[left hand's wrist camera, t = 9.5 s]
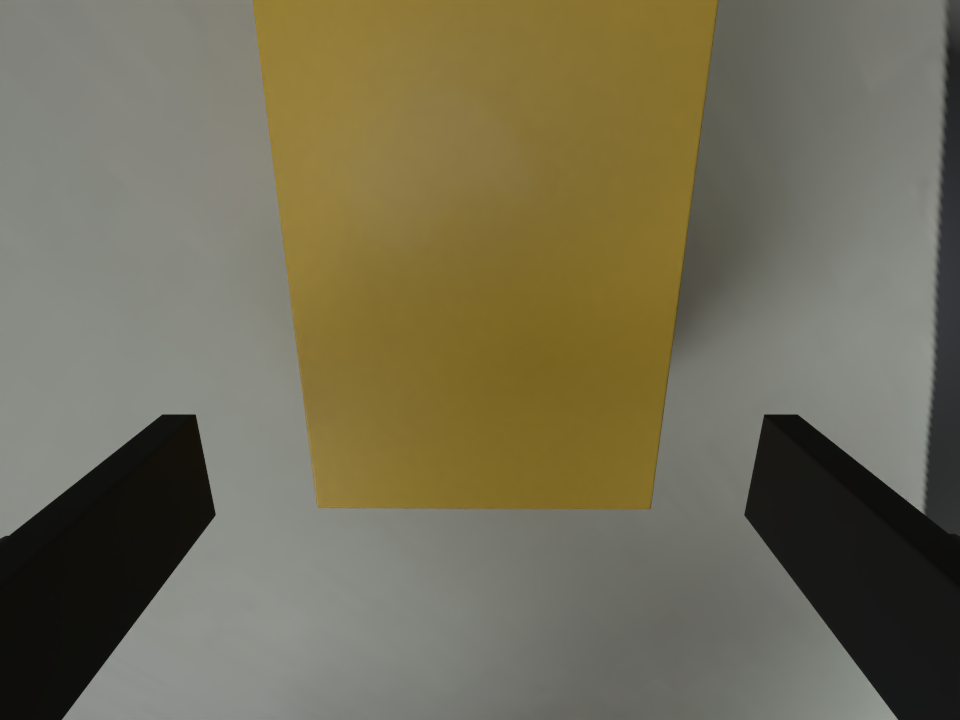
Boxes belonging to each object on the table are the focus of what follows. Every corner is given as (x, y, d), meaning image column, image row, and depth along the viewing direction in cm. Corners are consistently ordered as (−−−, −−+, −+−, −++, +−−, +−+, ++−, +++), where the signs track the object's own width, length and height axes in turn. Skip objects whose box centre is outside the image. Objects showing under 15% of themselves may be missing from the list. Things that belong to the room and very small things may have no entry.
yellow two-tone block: (326, -98, 19) (215, -275, 11) (644, -99, 19) (757, -278, 11) (366, 402, 26) (316, 509, 18) (600, 402, 26) (651, 510, 18)
